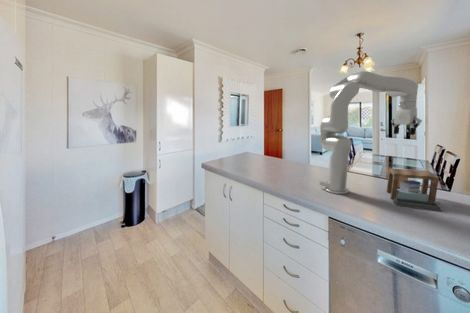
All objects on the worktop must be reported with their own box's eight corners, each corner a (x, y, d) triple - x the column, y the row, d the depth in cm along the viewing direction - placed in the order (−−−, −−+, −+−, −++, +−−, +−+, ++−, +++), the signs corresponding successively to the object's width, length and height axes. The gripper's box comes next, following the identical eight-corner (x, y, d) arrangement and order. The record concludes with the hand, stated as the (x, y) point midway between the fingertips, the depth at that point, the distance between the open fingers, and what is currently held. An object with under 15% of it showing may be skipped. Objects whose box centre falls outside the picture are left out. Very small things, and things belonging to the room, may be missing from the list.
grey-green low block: (397, 199, 108) (399, 186, 107) (387, 185, 130) (389, 174, 129) (427, 203, 103) (430, 189, 102) (412, 188, 125) (414, 176, 124)
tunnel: (391, 199, 109) (394, 173, 107) (386, 191, 121) (389, 168, 119) (434, 204, 102) (438, 177, 100) (425, 195, 114) (428, 171, 111)
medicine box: (407, 200, 108) (409, 183, 107) (398, 197, 113) (400, 181, 111) (418, 198, 110) (421, 182, 109) (409, 195, 115) (411, 179, 113)
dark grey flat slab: (396, 205, 102) (396, 201, 101) (393, 201, 107) (394, 197, 107) (440, 211, 95) (441, 207, 94) (435, 206, 100) (435, 202, 100)
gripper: (388, 106, 133) (385, 133, 136) (418, 104, 117) (414, 135, 120) (398, 106, 135) (395, 133, 138) (428, 104, 119) (424, 135, 122)
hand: (403, 134), depth 129 cm, fingers open, 9 cm apart
